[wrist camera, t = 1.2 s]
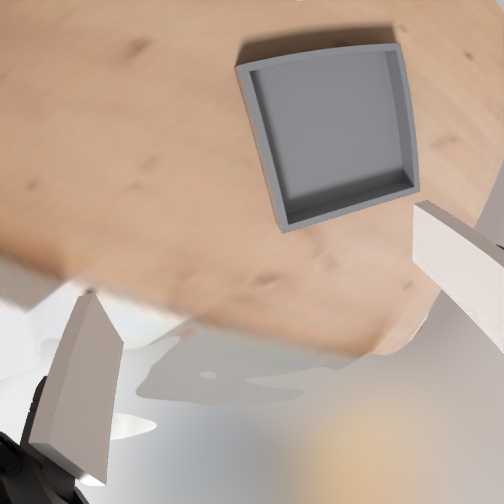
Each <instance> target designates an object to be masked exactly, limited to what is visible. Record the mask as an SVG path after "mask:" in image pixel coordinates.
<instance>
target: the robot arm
mask: <svg viewBox="0 0 504 504" xmlns="http://www.w3.org/2000/svg"><path fill="white" fill-rule="evenodd" d="M412 261H413V262H414V263H415V264H416V265H418V266H419V267H420V268H421V269H422V270H423V271H424V272H425V273H426V274H427V275H428V276H429V277H430V278H431V279H432V280H433V281H434V282H436V283H437V284H438V285H439V286H440V287H441V288H442V289H443V290H444V291H445V292H446V293H447V294H448V295H449V296H450V297H451V298H452V299H453V300H454V301H455V302H456V303H457V304H458V305H459V306H460V307H461V308H462V309H463V310H464V311H465V312H466V313H467V314H468V315H469V316H470V318H471V319H472V320H473V321H474V322H475V323H476V324H477V325H478V326H479V327H480V328H481V329H482V330H483V331H484V332H485V334H486V335H487V336H488V337H489V338H490V339H491V340H492V341H493V342H494V343H495V345H496V346H497V347H498V348H499V349H500V350H501V351H502V352H503V354H504V247H501V246H499V245H497V244H494V243H493V242H492V241H490V240H488V239H487V238H486V237H484V236H483V235H481V234H480V233H479V232H477V231H476V230H474V229H473V228H471V227H470V226H468V225H467V224H465V223H463V222H462V221H460V220H459V219H457V218H456V217H454V216H453V215H451V214H449V213H448V212H446V211H445V210H443V209H441V208H440V207H438V206H436V205H435V204H433V203H431V202H430V201H428V200H426V201H422V202H419V203H415V204H414V219H413V248H412ZM123 344H124V342H123V341H122V339H121V338H120V336H119V334H118V333H117V331H116V329H115V328H114V326H113V324H112V323H111V321H110V319H109V318H108V316H107V314H106V312H105V311H104V309H103V307H102V305H101V304H100V302H99V300H98V298H97V296H96V295H95V293H90V294H86V295H83V296H79V297H78V299H77V301H76V304H75V306H74V308H73V311H72V313H71V316H70V318H69V320H68V323H67V325H66V328H65V330H64V333H63V335H62V338H61V340H60V343H59V346H58V348H57V351H56V354H55V357H54V359H53V362H52V365H51V368H50V371H49V374H48V376H44V377H43V379H42V380H41V382H40V383H39V385H38V386H37V388H36V390H35V393H34V397H33V402H32V403H31V406H30V409H29V410H30V412H28V416H27V419H26V423H25V426H24V430H23V433H22V437H21V441H20V445H18V444H17V443H15V442H14V441H13V440H12V439H11V438H10V437H8V436H7V435H6V434H4V433H3V432H0V504H89V503H88V501H87V500H86V499H85V497H84V495H83V494H82V493H81V491H80V490H79V489H78V488H77V487H76V486H75V478H76V479H78V480H79V481H81V482H82V483H84V484H85V485H98V486H106V478H107V464H108V452H109V441H110V432H111V423H112V415H113V406H114V399H115V393H116V386H117V379H118V373H119V367H120V361H121V355H122V349H123Z"/></svg>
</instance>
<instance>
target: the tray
mask: <svg viewBox="0 0 504 504" xmlns="http://www.w3.org/2000/svg"><path fill="white" fill-rule="evenodd" d="M234 69H235V72H236V76H237V79H238V83H239V86H240V90H241V93H242V97H243V100H244V104H245V107H246V111H247V114H248V118H249V122H250V125H251V129H252V133H253V136H254V140H255V144H256V147H257V151H258V155H259V159H260V162H261V166H262V170H263V174H264V178H265V181H266V185H267V189H268V193H269V197H270V201H271V205H272V209H273V213H274V217H275V221H276V224H277V225H278V227H279V229H280V230H281V232H282V233H283V234H284V233H287V232H291V231H294V230H297V229H300V228H303V227H307V226H310V225H313V224H316V223H319V222H323V221H326V220H329V219H332V218H335V217H339V216H342V215H345V214H348V213H352V212H355V211H358V210H361V209H365V208H368V207H371V206H374V205H378V204H381V203H384V202H387V201H391V200H394V199H397V198H400V197H404V196H407V195H410V194H414V193H417V192H420V182H419V165H418V153H417V142H416V132H415V124H414V116H413V109H412V102H411V95H410V89H409V83H408V78H407V72H406V67H405V62H404V57H403V53H402V48H401V44H400V43H390V44H371V45H358V46H347V47H338V48H329V49H322V50H314V51H308V52H301V53H295V54H289V55H284V56H279V57H273V58H269V59H264V60H259V61H255V62H250V63H246V64H242V65H238V66H237V67H235V68H234Z"/></svg>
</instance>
